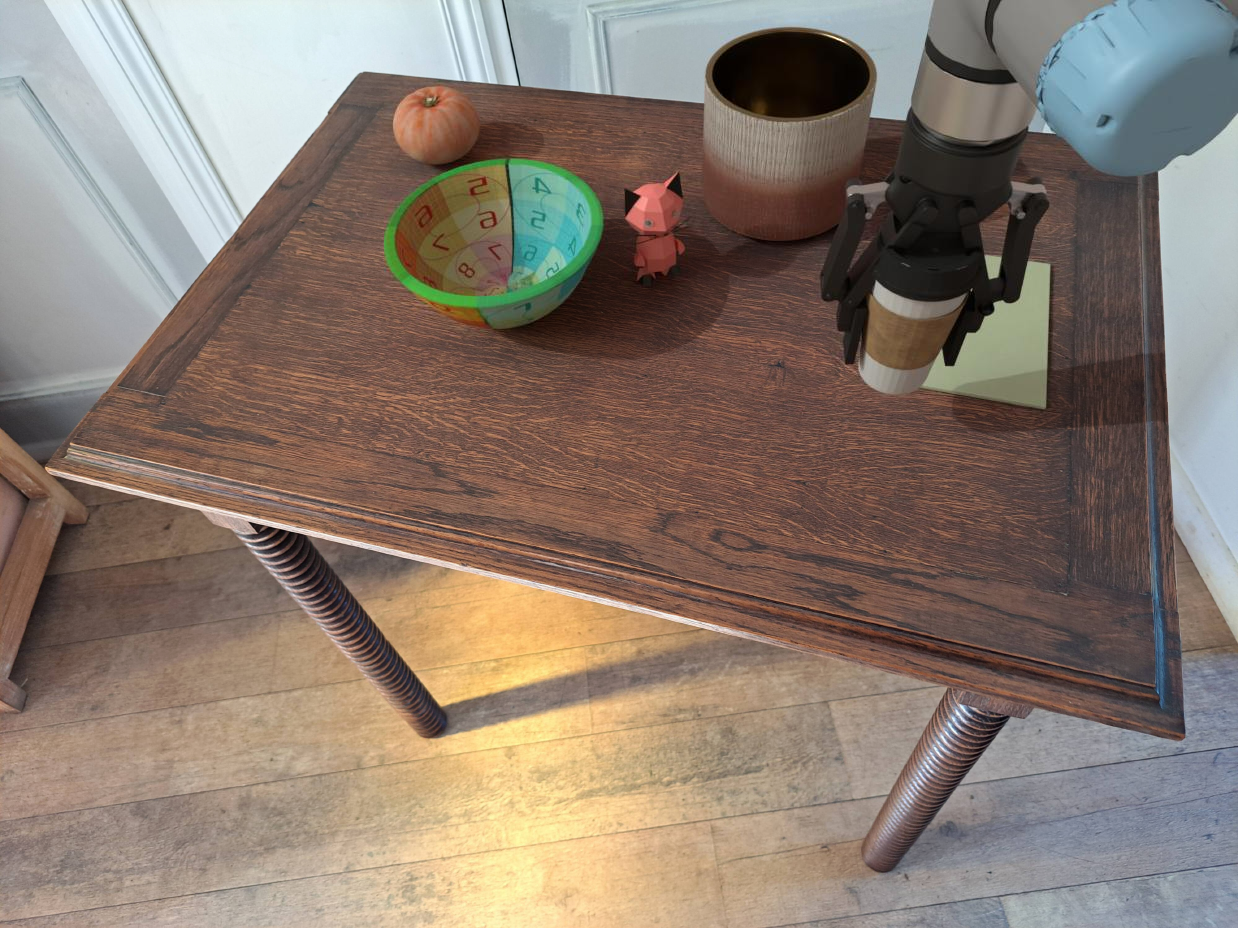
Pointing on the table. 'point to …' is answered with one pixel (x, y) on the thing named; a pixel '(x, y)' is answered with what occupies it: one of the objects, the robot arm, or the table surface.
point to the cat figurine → (656, 227)
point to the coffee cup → (913, 310)
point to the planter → (784, 130)
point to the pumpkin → (436, 125)
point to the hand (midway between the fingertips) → (897, 353)
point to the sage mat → (1004, 347)
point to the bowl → (495, 241)
